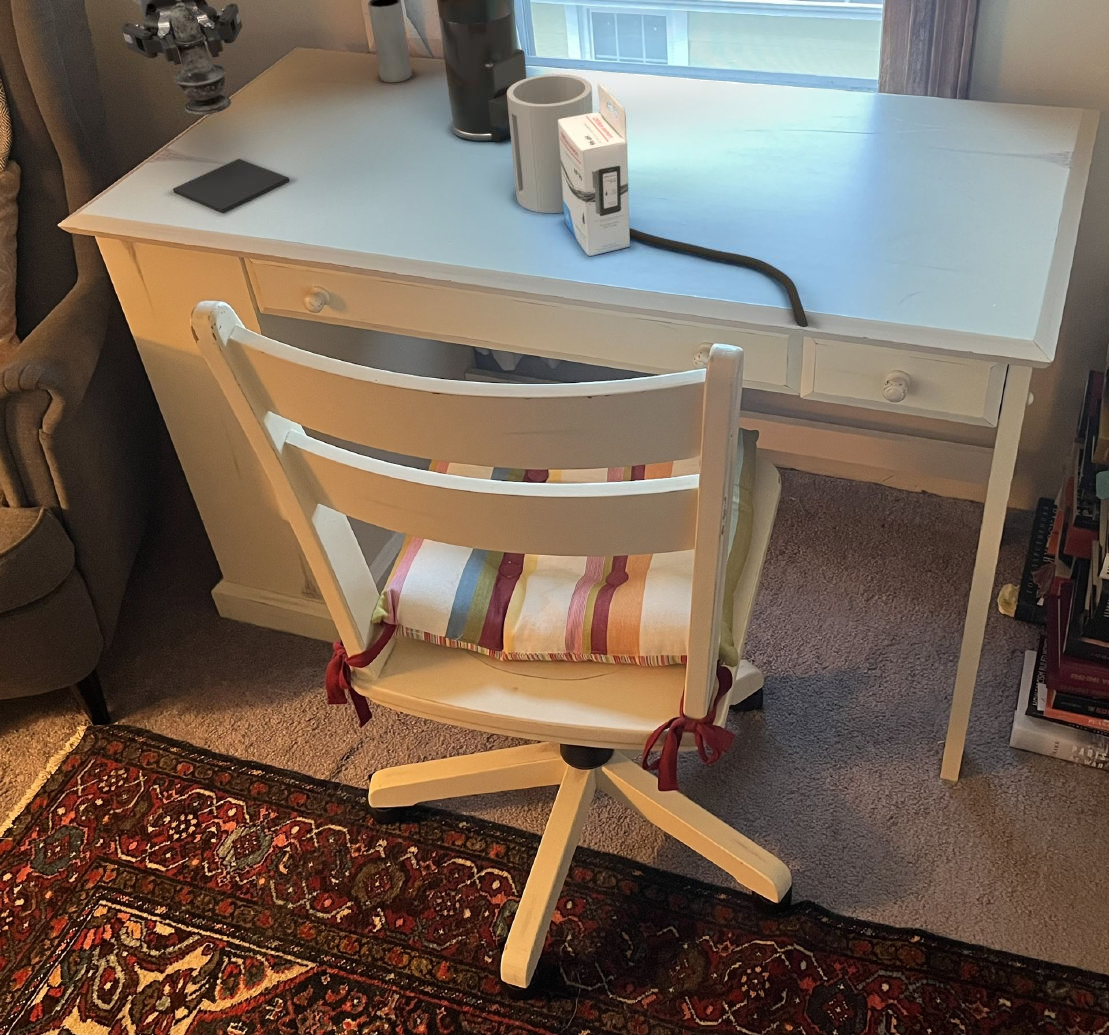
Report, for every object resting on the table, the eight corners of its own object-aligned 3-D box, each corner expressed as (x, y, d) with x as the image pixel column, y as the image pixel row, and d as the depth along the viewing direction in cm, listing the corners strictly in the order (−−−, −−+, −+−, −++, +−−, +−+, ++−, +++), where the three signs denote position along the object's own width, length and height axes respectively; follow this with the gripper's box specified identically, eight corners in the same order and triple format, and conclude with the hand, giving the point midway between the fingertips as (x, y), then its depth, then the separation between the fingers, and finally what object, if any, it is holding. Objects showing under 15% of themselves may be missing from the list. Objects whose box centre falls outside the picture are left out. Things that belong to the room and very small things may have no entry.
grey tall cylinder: (404, 83, 154) (392, 7, 147) (375, 81, 155) (362, 5, 148) (417, 72, 157) (406, -4, 150) (388, 70, 158) (376, -5, 151)
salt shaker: (214, 91, 129) (185, -17, 121) (243, 103, 126) (215, -7, 118) (172, 108, 126) (139, -2, 118) (200, 120, 123) (169, 8, 115)
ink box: (562, 223, 120) (553, 89, 110) (604, 214, 121) (599, 80, 111) (587, 258, 114) (580, 119, 104) (632, 248, 114) (629, 109, 105)
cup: (610, 185, 126) (606, 81, 118) (569, 219, 120) (562, 111, 112) (544, 171, 130) (536, 69, 122) (501, 203, 124) (490, 98, 116)
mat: (289, 181, 132) (288, 177, 132) (223, 213, 127) (221, 209, 127) (239, 162, 138) (238, 158, 137) (173, 192, 132) (172, 188, 132)
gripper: (102, -16, 127) (117, 28, 115) (223, -37, 130) (250, 3, 118) (123, 50, 132) (140, 99, 120) (239, 28, 135) (267, 73, 123)
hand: (194, 51), depth 119 cm, fingers closed on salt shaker, 3 cm apart
